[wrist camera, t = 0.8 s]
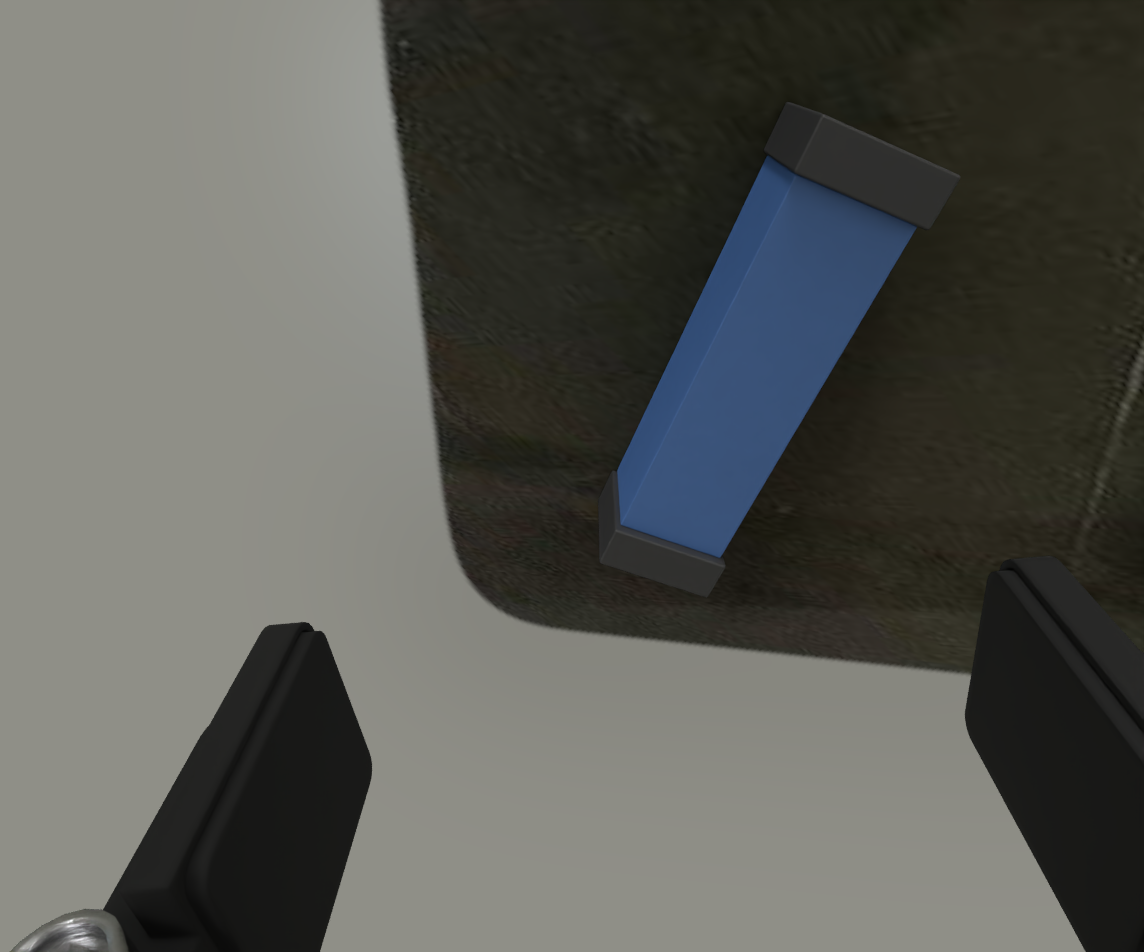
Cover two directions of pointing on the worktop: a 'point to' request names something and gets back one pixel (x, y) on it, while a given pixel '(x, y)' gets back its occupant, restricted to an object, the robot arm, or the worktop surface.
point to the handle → (763, 341)
